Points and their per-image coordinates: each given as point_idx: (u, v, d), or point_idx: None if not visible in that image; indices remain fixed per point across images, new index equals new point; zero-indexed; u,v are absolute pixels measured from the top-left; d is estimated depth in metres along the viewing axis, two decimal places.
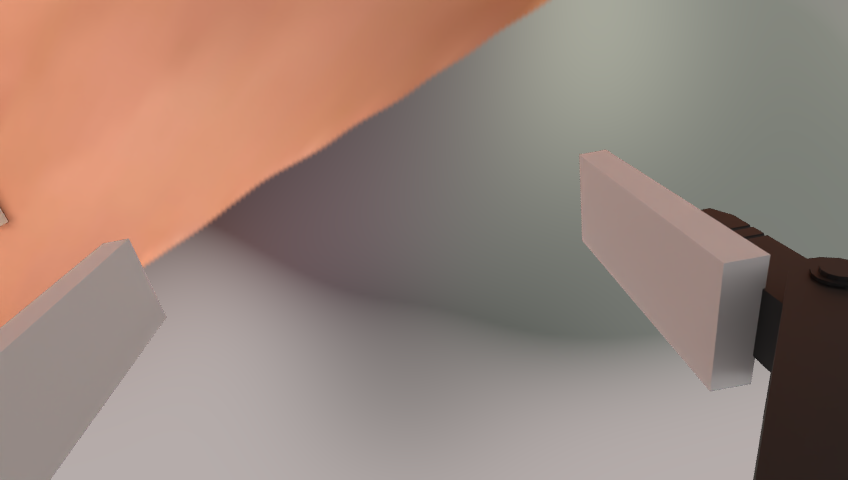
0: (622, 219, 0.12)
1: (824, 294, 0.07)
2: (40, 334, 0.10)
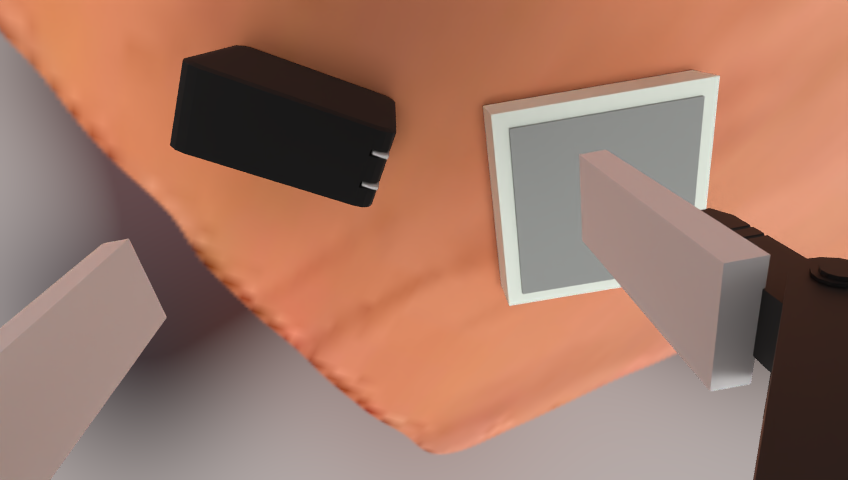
0: (622, 219, 0.12)
1: (824, 294, 0.07)
2: (40, 334, 0.10)
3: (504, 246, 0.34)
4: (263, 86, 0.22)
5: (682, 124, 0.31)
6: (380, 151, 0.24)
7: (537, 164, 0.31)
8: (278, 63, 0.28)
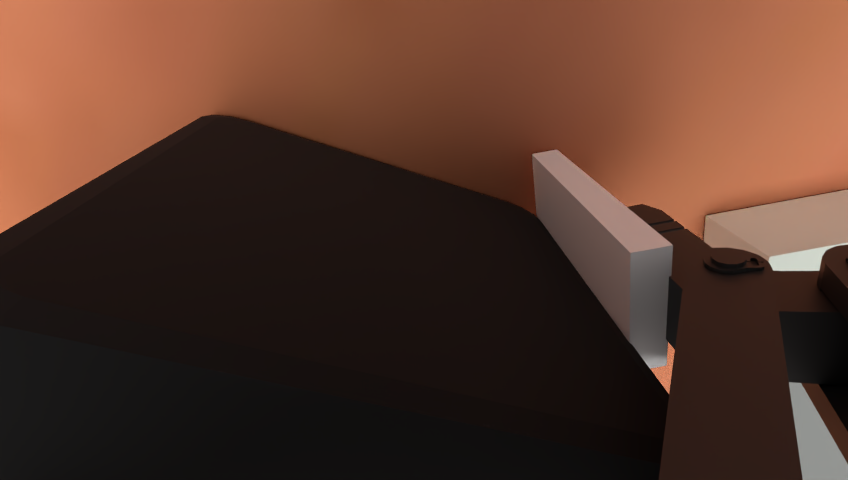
0: (563, 214, 0.12)
1: (716, 281, 0.08)
2: None
3: None
4: (273, 351, 0.06)
5: None
6: None
7: None
8: (301, 162, 0.12)
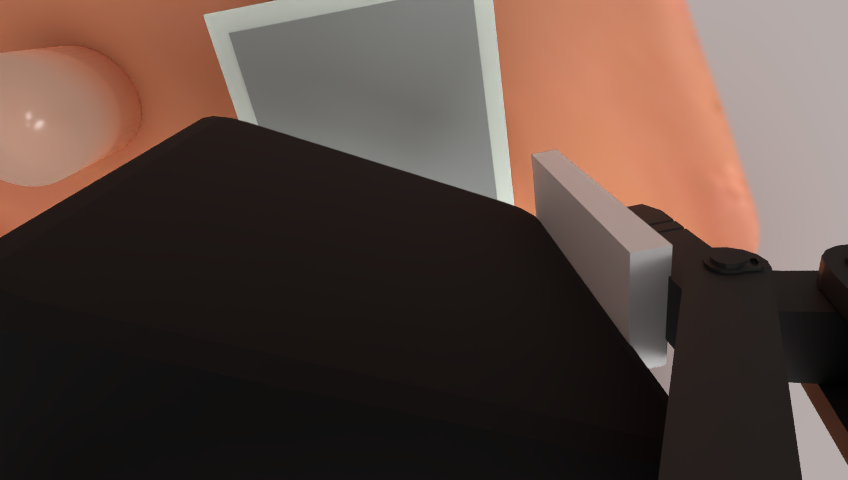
0: (563, 214, 0.12)
1: (715, 281, 0.08)
2: None
3: None
4: (274, 354, 0.06)
5: (267, 54, 0.24)
6: None
7: None
8: (301, 163, 0.12)
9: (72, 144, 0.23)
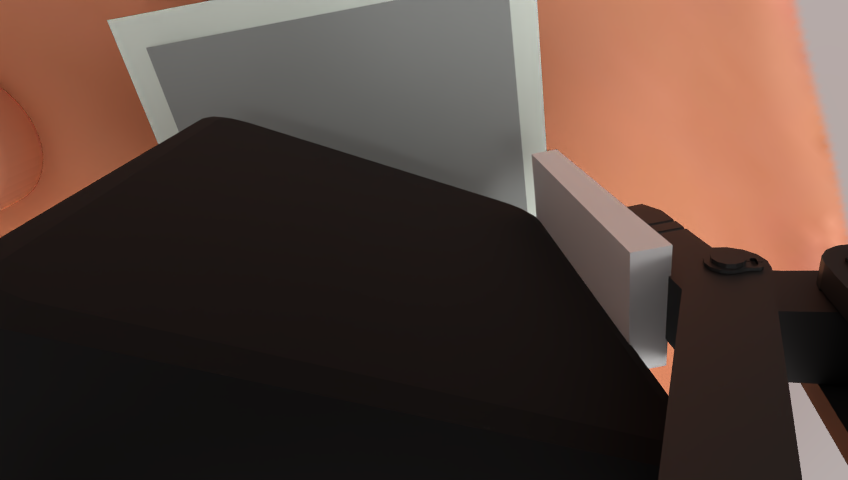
0: (563, 214, 0.12)
1: (715, 281, 0.08)
2: None
3: None
4: (274, 354, 0.06)
5: (205, 78, 0.17)
6: None
7: None
8: (301, 163, 0.12)
9: None
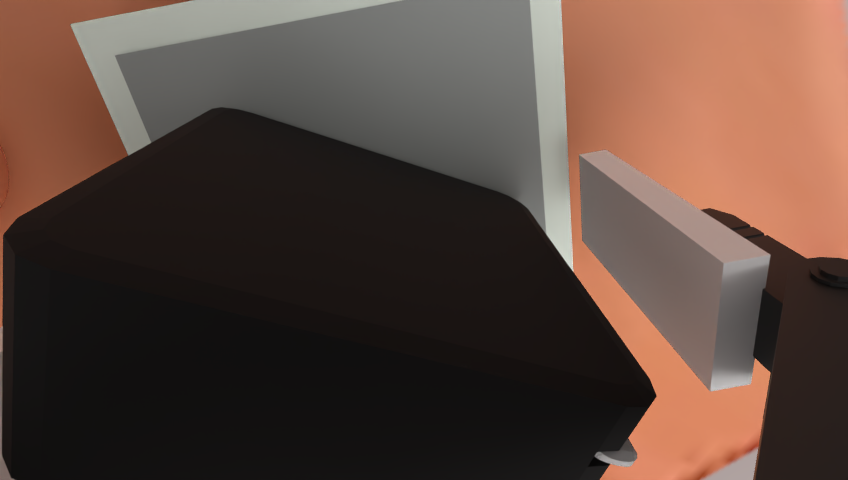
0: (622, 219, 0.12)
1: (824, 294, 0.07)
2: None
3: None
4: (282, 300, 0.07)
5: (183, 89, 0.15)
6: (617, 448, 0.08)
7: None
8: (303, 150, 0.13)
9: None
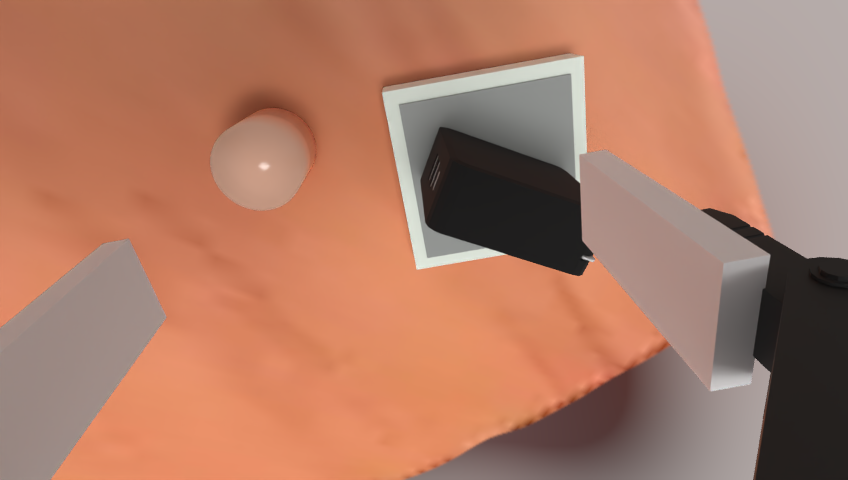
0: (622, 219, 0.12)
1: (823, 294, 0.07)
2: (40, 334, 0.10)
3: None
4: (514, 180, 0.27)
5: (423, 119, 0.34)
6: None
7: None
8: (481, 144, 0.33)
9: (293, 182, 0.33)
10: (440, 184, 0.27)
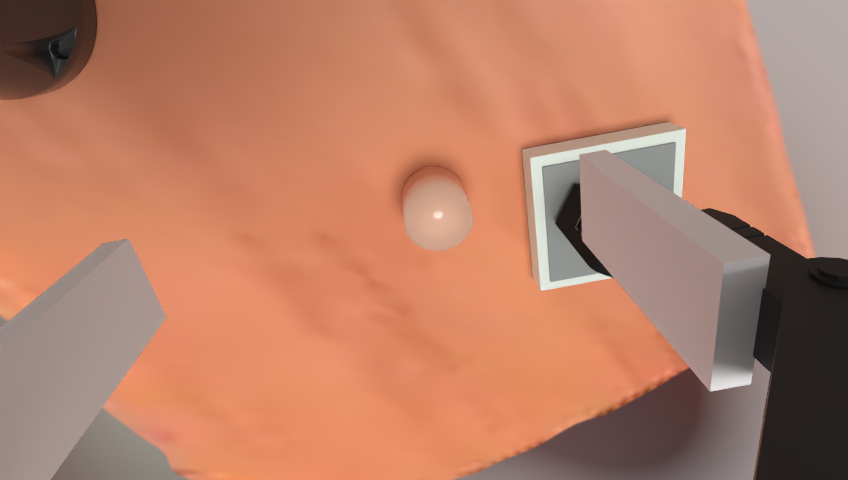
0: (622, 219, 0.12)
1: (824, 294, 0.07)
2: (40, 334, 0.10)
3: None
4: None
5: (560, 177, 0.44)
6: None
7: (575, 263, 0.48)
8: None
9: (465, 229, 0.43)
10: None
